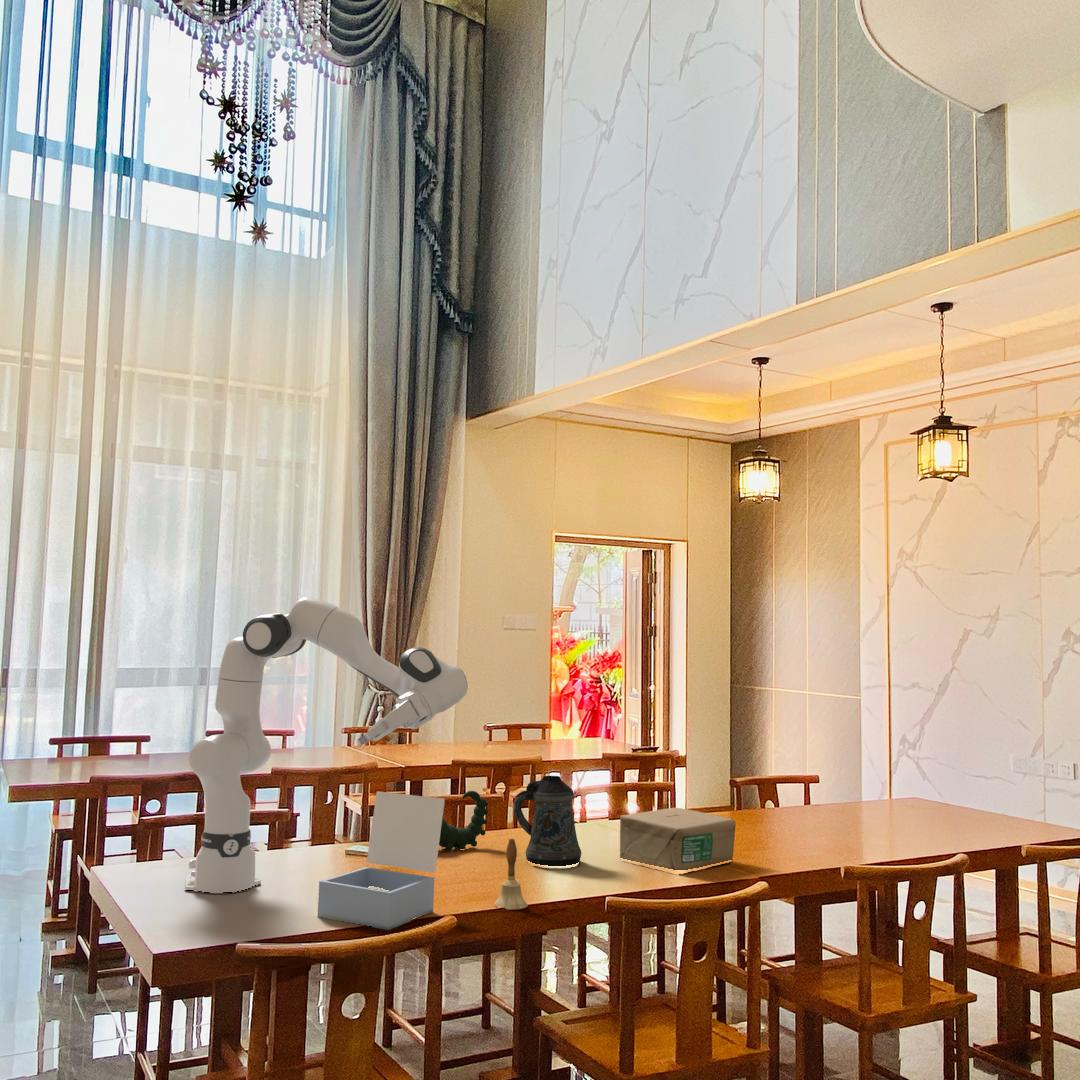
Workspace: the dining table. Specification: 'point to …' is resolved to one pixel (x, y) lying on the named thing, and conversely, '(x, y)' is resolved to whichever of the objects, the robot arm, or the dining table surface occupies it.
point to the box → (376, 897)
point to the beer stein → (549, 823)
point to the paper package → (676, 838)
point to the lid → (406, 831)
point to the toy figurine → (465, 836)
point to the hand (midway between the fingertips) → (363, 739)
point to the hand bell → (511, 883)
